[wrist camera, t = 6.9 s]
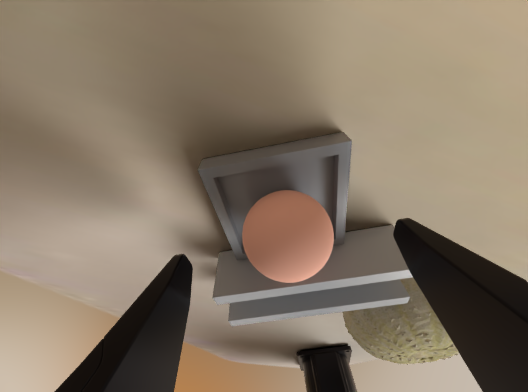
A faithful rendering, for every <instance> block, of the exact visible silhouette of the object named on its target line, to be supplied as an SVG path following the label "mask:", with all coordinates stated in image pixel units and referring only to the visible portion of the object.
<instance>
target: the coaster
mask: <svg viewBox="0 0 528 392" xmlns="http://www.w3.org/2000/svg"><path fill="white" fill-rule="evenodd" d="M351 146H352V140H351V139H350V138H349V137H348V136H347V135H346V134H345V133H344V132H340V133H334V134H329V135H324V136H319V137H314V138H309V139H303V140H298V141H293V142H288V143H283V144H278V145H272V146H267V147H262V148H257V149H252V150H247V151H241V152H236V153H231V154H226V155H221V156H216V157H210V158H205V159H202V161H201V163H200V165H199V168H198V172H199V174H200V177H201V179H202V181H203V184H204V186H205V188H206V191H207V193H208V195H209V197H210V200H211V202H212V204H213V207H214V209H215V211H216V213H217V216H218V218H219V220H220V223H221V225H222V227H223V229H224V232H225V234H226V236H227V239H228V241H229V243H230V245H231V248H232V250H233V252H234V255H235V257H236V259H237V260H243V259H248V257H247V255H246V253H245V250H244V246H243V239H242V232H243V225H244V221H245V218H246V216H247V214H248V212H249V211H250V209H251V208H252V206H253V205H254V204H255V203H256V202H257V201H258V200H260V199H261V198H262V197H264V196H266V195H268V194H270V193H273V192H276V191H281V190H293V191H299V192H302V193H304V194H307V195H309V196H311V197H312V198H314V199H315V200H316V201H317V202H319V203H320V204H321V206H322V207H323V208H324V209H325V211H326V212H327V214H328V216H329V218H330V220H331V223H332V226H333V232H334V243H333V246H334V245H340V244H344V238H345V225H346V212H347V199H348V186H349V172H350V159H351Z"/></svg>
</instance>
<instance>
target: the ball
mask: <svg viewBox="0 0 528 392" xmlns="http://www.w3.org/2000/svg"><path fill="white" fill-rule="evenodd" d="M242 239H243V246H244V250H245V253H246V255H247V257H248V259H249V261H250V262H251V263H252V265H253V266H254V267H255V268H256V269H257V270H258V271H259V272H260V273H262V274H263V275H264V276H266V277H268V278H270V279H272V280H275V281H279V282H285V283H294V282H299V281H303V280H306V279H308V278H310V277H312V276H313V275H315V274H316V273H317V272H319V271H320V270H321V269H322V268H323V266H324V265H325V264H326V262H327V261H328V259H329V257H330V254H331V252H332V248H333V243H334V232H333V226H332V223H331V220H330V218H329V216H328V214H327V212H326V211H325V209H324V208H323V207H322V206H321V204H320V203H319V202H317V201H316V200H315V199H314V198H312V197H311V196H309V195H307V194H304V193H302V192H299V191H293V190H281V191H276V192H273V193H270V194H268V195H266V196H264V197H262V198H261V199H260V200H258V201H257V202H256V203H255V204H254V205H253V206H252V208H251V209H250V211H249V212H248V214H247V216H246V218H245V221H244V225H243V232H242Z"/></svg>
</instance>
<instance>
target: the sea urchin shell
mask: <svg viewBox="0 0 528 392" xmlns="http://www.w3.org/2000/svg"><path fill="white" fill-rule="evenodd" d="M400 281H401V282H402V284H403V286H404V287H405V289H406V291H407V292H408V294H409V296H410V298H409V300H408V302H407V303H405V304H397V305H390V306H382V307H375V308H367V309H359V310H352V311H344V312H343V317H344V321H345V326H346V328H347V329H348V333H350V334H351V335H352V337H353V339H354V340H356V341H357V343H358V344H359V345H360V346H361V347H362V348H363V349H364V350H366V351H367V352H368V353H370V354H371V355H373V356H375V357H376V358H380V359H382V360H387V361H390V362H394V363H399V364H415V363H424V362H433V361H437V360H439V359H446V358H451V356H453V355H458V353H459V352H458V350H457V348H456V347H455V345H454V344H453V342H452V340H451V339H450V337H449V335H448V334H447V332H446V330H445V329H444V327H443V326H442V324H441V322H440V321H439V319H438V317H437V316H436V314H435V312H434V311H433V309H432V308H431V306H430V304H429V303H428V301H427V299H426V298H425V296H424V294H423V293H422V291H421V290H420V288H419V286H418V285H417V283H416V281H415V280H414V278H413V277H411V278H404V279H400Z"/></svg>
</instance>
